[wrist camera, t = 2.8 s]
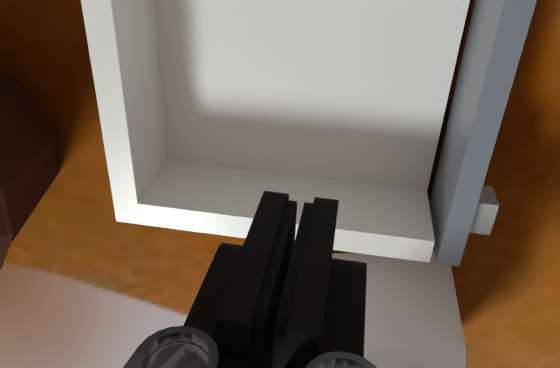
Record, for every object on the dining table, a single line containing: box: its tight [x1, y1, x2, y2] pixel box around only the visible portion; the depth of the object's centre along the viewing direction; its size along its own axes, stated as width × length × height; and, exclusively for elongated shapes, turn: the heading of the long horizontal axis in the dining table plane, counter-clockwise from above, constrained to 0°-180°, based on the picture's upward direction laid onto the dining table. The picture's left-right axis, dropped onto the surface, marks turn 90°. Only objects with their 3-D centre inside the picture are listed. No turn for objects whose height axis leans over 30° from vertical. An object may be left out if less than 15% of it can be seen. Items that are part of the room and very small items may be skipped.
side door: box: [429, 0, 537, 266], centre depth 20 cm, size 19×2×5 cm, turn 178°
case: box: [81, 0, 470, 263], centre depth 21 cm, size 18×15×5 cm
